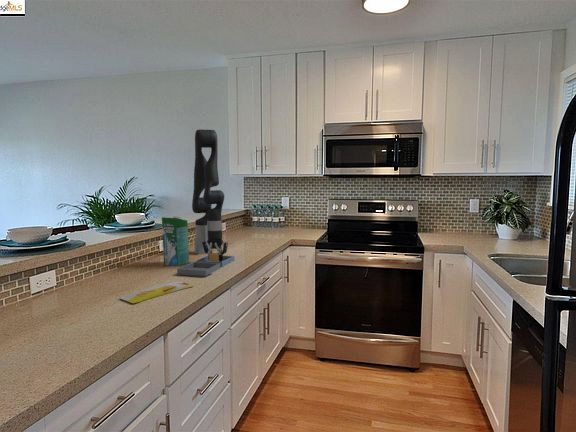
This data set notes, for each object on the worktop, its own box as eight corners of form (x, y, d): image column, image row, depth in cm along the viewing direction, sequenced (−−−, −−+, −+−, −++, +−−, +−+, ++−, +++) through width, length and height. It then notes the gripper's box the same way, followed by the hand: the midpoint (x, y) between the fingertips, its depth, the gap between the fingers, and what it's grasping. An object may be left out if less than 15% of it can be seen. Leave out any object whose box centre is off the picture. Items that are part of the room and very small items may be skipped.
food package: (132, 300, 132) (118, 295, 138) (132, 306, 132) (118, 301, 138) (194, 282, 153) (180, 278, 159) (195, 288, 154) (180, 284, 160)
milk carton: (189, 263, 196) (187, 216, 193) (177, 266, 187) (175, 217, 185) (175, 261, 199) (173, 215, 197) (163, 265, 191) (161, 217, 188)
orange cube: (209, 263, 191) (208, 253, 190) (213, 261, 196) (213, 251, 195) (217, 264, 190) (217, 254, 189) (222, 261, 194) (222, 252, 194)
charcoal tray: (177, 275, 171) (177, 268, 171) (193, 267, 185) (193, 261, 185) (205, 277, 167) (205, 270, 167) (220, 269, 181) (220, 263, 181)
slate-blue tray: (196, 266, 188) (195, 260, 187) (209, 260, 202) (209, 254, 201) (222, 268, 184) (222, 262, 183) (234, 261, 198) (234, 256, 197)
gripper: (198, 229, 189) (199, 262, 191) (224, 230, 185) (225, 264, 187) (205, 227, 196) (206, 259, 198) (230, 228, 192) (231, 260, 194)
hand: (215, 261), depth 193 cm, fingers closed on orange cube, 5 cm apart
